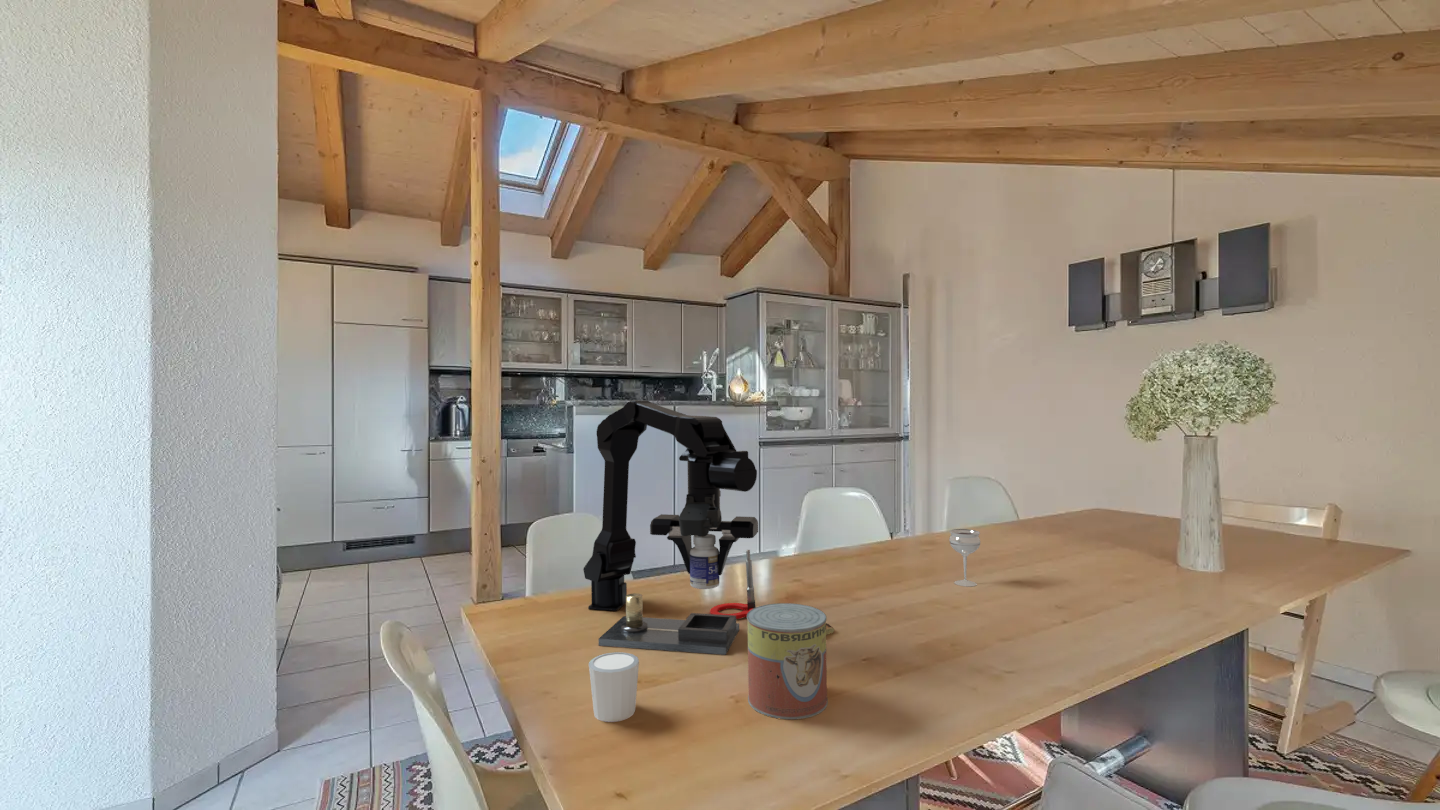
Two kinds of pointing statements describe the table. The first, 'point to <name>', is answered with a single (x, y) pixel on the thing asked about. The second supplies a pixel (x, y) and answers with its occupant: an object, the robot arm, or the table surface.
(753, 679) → the canned food
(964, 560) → the wineglass
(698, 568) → the pill bottle
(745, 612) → the tow hook
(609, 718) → the white cup
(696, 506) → the robot arm
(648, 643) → the metal plate with knob
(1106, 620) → the table surface
